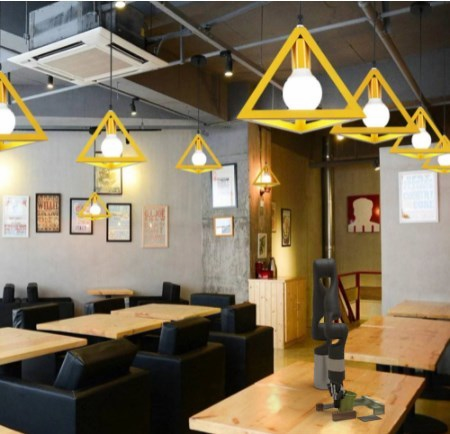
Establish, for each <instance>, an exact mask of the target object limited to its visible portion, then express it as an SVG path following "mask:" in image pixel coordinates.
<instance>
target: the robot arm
mask: <svg viewBox="0 0 450 434" xmlns="http://www.w3.org/2000/svg"><path fill="white" fill-rule="evenodd" d="M337 268H338V267H337V263H336V260H335V259H334V258H331V257H330V258H329V257H328V258H317V259H314V260H313V262H312V285H313V286H312V287H313V288H312V301H311V302H312V305H311V306H312V315H311V316H312V318H311V327H310V329H311V330H310V336H311V338H312V340H313V341H320V342H321V341H322V342H324V343H323V344H321V345H318V346H316V347H315V348H314V349H313V350H314V351H313V357H314V359H313V361H314V363H313V364H314V365H313V366H314V367H313V386H314V388H315V389H317V390H328V392H329V395H330V397H332V400H333V403H334V409H337V410H338V408H340V400H342V399H343V398H344V396H345V394H346V392H347V390H348V389H345V388H344V382H343V381H345V380H346V362H345V361H346V360H345V347H346V343H347V340H348V337H349V327H348V325H347V324H346V323H344V322H332V321H335V320H339V319H341V317H342V310H341V305H340V304H341V303H340V299H339V281H338V279H339V278H338V269H337ZM329 278H330V285H329V288H327V287H326V286H325V285H324V284H323V282H322V281H321V279H329ZM324 317H325V321H324V322H321V320H322V319H323V318H324ZM333 340H337V342H335V343H333ZM338 392H339V393H338Z"/></svg>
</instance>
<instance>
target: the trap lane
mask: <svg viewBox="0 0 450 434" xmlns="http://www.w3.org/2000/svg"><path fill="white" fill-rule="evenodd" d="M359 406H365V407H367V408H369V409H370V410H372V414H370V415H364V416H363V415H362V416H357V411H356V410H355V409H353V410H350V411H344V412H339V411H338V412H332V415H331V420H332V421H333V422H339V421H345V420H351V419H352V420H353V419H358V420H360V421H362V422H364V423H365V422H373V421H377V420H382V417H380V416H379V415H385V414H386V412H385V410H386V406H385V404H384V403H382V402H380V401H379V400H375V399H374V398H371V397H369V396H367V395H366V394H361V397H356V398H355V401H354V406H353V407H359ZM333 408H334V402H332V403H323V402H319V403H318V402H316V403H315V411H316V412H323V411H324V410H329V409H333ZM334 409H335V408H334Z"/></svg>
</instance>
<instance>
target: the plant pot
mask: <svg viewBox="0 0 450 434" xmlns="http://www.w3.org/2000/svg"><path fill="white" fill-rule="evenodd" d="M346 390H347V392H346V394H345V396H344V398H343V399H342V400H340V408H338V409H337V411H338V412H344V411H350V410H354V407H355V406H354V401H355V398H357V396H358V393H357V392H356V391H355V392H354V391H352V390H348V389H346ZM338 393H339V392H338Z"/></svg>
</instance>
